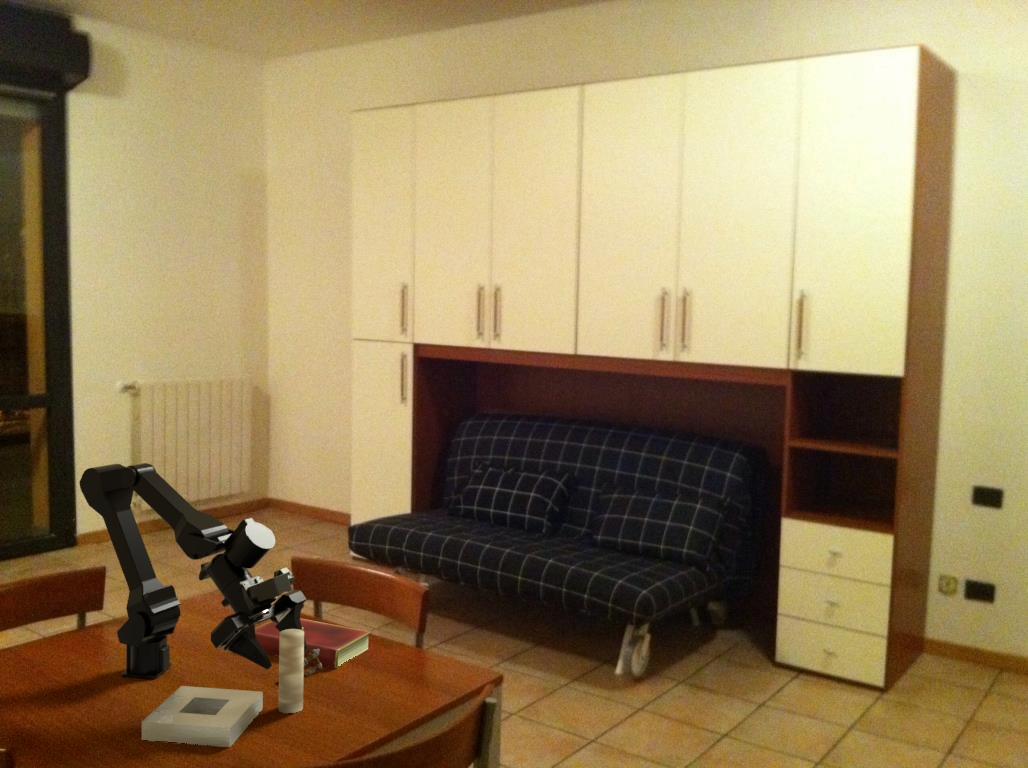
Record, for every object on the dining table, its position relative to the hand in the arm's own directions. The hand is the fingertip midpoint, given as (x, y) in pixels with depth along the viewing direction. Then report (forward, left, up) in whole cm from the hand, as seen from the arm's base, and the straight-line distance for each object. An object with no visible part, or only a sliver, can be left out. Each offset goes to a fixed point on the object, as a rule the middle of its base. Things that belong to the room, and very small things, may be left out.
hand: (288, 658), depth 159 cm
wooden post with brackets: (-2, +14, -9) cm, 16 cm away
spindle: (+1, 0, -8) cm, 8 cm away
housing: (-11, -8, -8) cm, 16 cm away
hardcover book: (-5, +27, -9) cm, 29 cm away
